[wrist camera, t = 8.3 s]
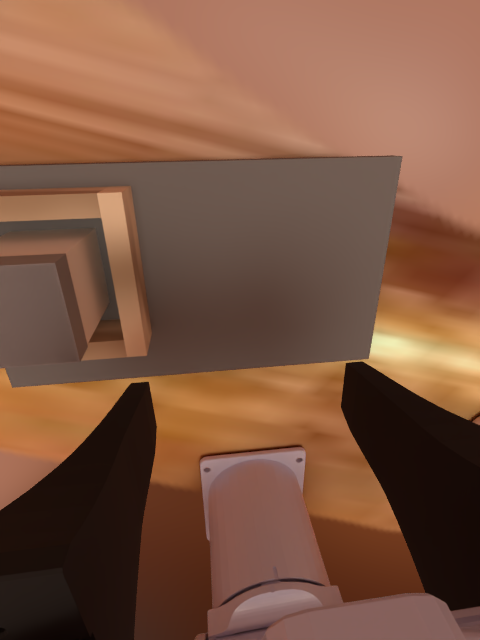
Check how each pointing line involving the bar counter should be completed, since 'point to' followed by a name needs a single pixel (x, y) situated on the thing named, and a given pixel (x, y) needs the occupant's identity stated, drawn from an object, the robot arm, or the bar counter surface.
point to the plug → (49, 295)
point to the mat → (236, 259)
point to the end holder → (123, 252)
